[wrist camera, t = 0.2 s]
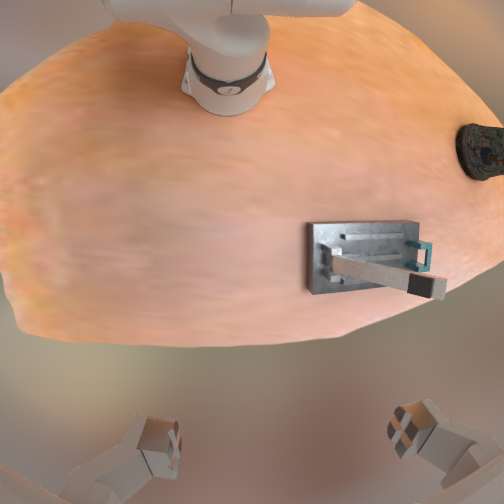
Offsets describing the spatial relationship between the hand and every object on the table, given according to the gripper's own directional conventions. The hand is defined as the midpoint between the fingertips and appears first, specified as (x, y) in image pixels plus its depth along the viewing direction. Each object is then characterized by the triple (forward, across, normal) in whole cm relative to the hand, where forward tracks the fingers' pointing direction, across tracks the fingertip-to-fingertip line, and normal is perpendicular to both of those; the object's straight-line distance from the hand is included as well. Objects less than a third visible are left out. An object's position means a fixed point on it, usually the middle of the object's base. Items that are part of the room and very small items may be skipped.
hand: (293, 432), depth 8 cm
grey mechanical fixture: (+48, -25, +3) cm, 54 cm away
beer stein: (+51, -64, -28) cm, 86 cm away
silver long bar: (+32, -22, +4) cm, 39 cm away
